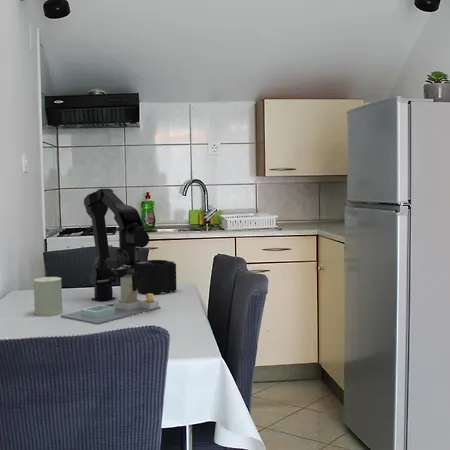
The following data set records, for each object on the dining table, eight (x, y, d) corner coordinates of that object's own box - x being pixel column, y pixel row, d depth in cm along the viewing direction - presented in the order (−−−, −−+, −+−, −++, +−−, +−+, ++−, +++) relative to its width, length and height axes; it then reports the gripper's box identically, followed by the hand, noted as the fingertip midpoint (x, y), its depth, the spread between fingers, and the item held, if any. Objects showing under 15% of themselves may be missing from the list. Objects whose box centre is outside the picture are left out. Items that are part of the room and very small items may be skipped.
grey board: (60, 317, 199) (60, 309, 198) (124, 302, 221) (123, 295, 221) (97, 324, 188) (97, 316, 188) (160, 308, 210) (160, 301, 210)
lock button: (145, 302, 209) (144, 294, 209) (149, 301, 211) (149, 293, 211) (150, 303, 208) (149, 294, 208) (154, 302, 210) (154, 293, 209)
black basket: (154, 287, 252) (153, 258, 251) (182, 290, 243) (181, 261, 242) (129, 292, 240) (128, 262, 239) (158, 296, 231) (157, 265, 230)
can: (37, 317, 200) (35, 280, 199) (32, 311, 208) (30, 276, 207) (65, 314, 204) (64, 278, 203) (59, 308, 212) (58, 274, 211)
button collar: (141, 307, 209) (141, 301, 209) (149, 305, 212) (149, 299, 212) (150, 309, 207) (150, 303, 206) (158, 306, 210) (158, 301, 210)
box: (132, 309, 208) (131, 277, 207) (120, 309, 209) (119, 277, 208) (137, 306, 213) (137, 275, 212) (126, 306, 214) (125, 274, 213)
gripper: (91, 245, 208) (92, 290, 210) (129, 249, 197) (130, 297, 198) (115, 242, 217) (116, 285, 218) (153, 245, 206) (154, 291, 207)
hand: (128, 290), depth 210 cm, fingers closed on box, 5 cm apart
